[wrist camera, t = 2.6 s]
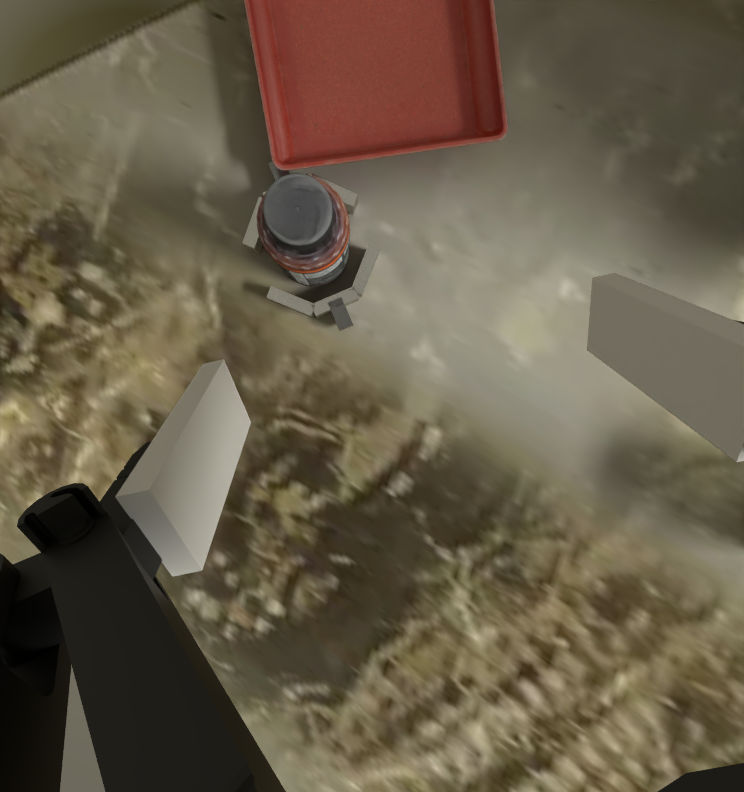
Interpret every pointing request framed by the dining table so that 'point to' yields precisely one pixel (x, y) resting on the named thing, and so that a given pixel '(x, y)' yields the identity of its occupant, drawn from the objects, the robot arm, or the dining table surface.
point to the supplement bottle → (305, 228)
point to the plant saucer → (375, 77)
